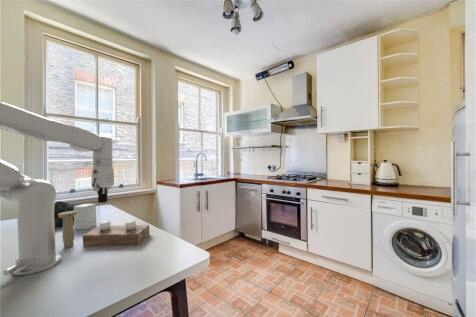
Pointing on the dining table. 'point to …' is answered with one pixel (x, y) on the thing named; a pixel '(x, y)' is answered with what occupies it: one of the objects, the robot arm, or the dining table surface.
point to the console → (116, 236)
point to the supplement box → (85, 216)
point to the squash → (61, 211)
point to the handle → (68, 227)
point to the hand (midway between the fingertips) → (102, 202)
